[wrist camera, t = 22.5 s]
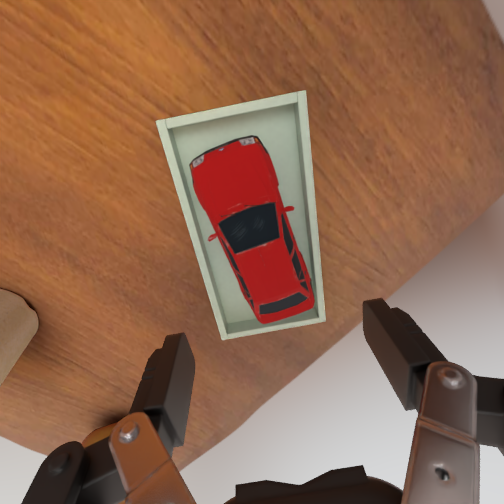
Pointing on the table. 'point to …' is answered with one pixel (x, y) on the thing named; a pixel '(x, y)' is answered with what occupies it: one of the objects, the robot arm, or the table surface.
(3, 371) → the flower pot
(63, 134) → the table surface
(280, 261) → the toy car
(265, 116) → the tray
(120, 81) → the table surface
